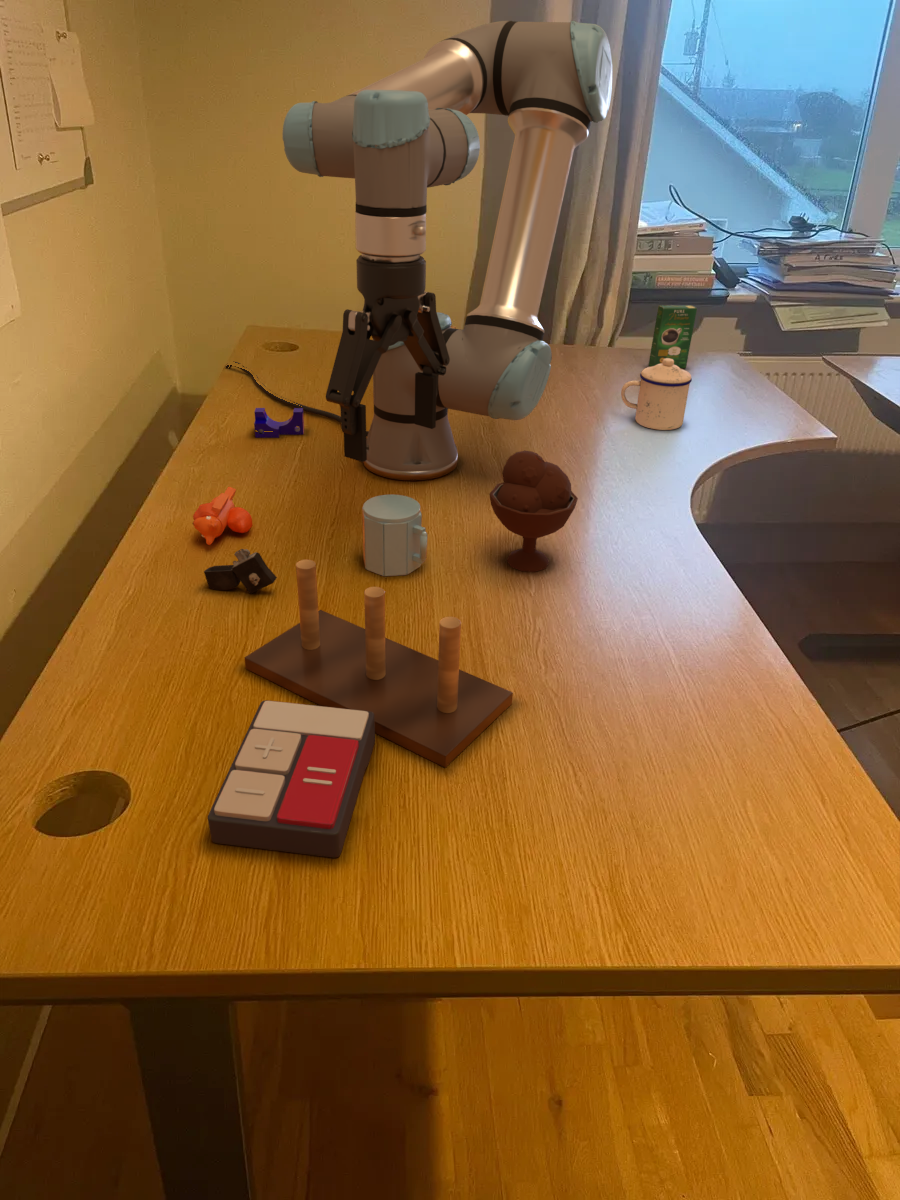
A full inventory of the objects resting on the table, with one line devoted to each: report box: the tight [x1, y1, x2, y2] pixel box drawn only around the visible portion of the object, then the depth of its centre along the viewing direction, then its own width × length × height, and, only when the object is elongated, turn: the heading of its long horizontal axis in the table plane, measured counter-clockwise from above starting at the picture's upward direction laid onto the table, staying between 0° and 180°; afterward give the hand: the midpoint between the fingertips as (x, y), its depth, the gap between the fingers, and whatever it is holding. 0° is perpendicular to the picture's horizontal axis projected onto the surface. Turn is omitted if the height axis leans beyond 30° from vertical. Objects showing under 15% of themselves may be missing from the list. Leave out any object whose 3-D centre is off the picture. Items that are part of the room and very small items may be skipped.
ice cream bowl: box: [488, 450, 579, 573], centre depth 113 cm, size 11×11×15 cm
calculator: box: [207, 700, 376, 859], centre depth 79 cm, size 11×4×15 cm
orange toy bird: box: [192, 486, 253, 546], centre depth 120 cm, size 5×8×12 cm
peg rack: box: [244, 559, 514, 768], centre depth 90 cm, size 26×12×12 cm, turn 55°
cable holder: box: [253, 407, 305, 439], centre depth 152 cm, size 8×4×4 cm, turn 94°
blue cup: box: [361, 493, 428, 577], centre depth 113 cm, size 9×7×8 cm
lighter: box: [203, 548, 278, 595], centre depth 107 cm, size 8×2×5 cm
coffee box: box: [648, 304, 698, 369], centre depth 189 cm, size 8×3×13 cm, turn 103°
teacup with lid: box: [620, 358, 693, 431], centre depth 160 cm, size 12×9×12 cm
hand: (391, 441), depth 107 cm, fingers open, 13 cm apart
